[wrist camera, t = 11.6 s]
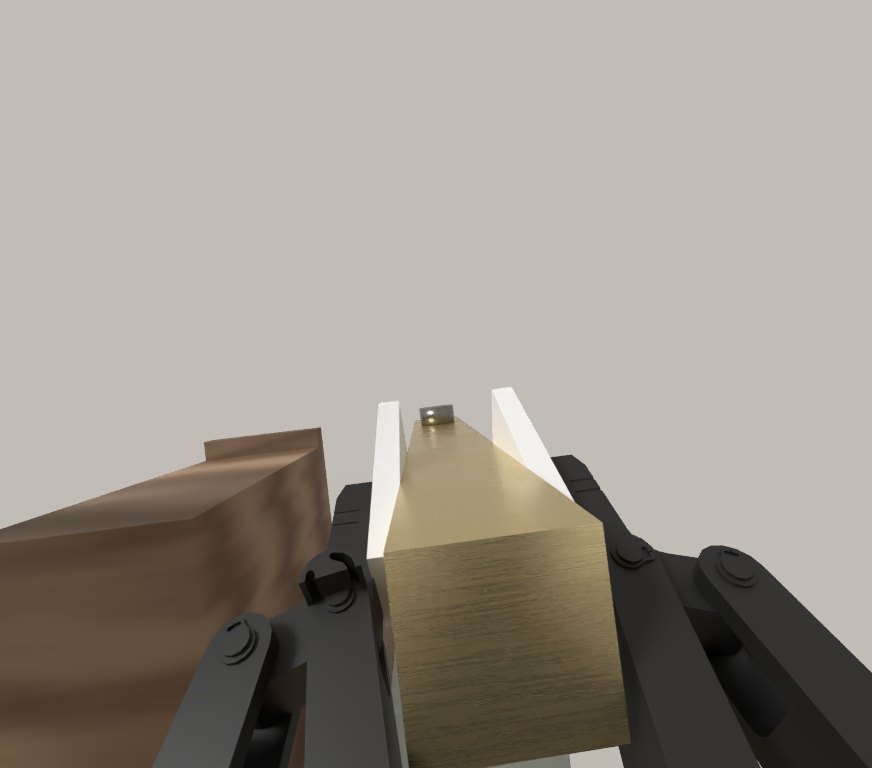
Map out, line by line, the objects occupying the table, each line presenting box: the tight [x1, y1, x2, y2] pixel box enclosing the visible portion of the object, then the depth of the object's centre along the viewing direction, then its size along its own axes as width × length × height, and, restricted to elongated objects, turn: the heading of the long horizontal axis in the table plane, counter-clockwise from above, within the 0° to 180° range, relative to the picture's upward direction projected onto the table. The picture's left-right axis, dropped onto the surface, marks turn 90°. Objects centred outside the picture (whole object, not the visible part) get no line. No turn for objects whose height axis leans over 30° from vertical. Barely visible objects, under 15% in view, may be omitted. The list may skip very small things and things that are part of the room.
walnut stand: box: [0, 428, 332, 768], centre depth 22 cm, size 20×12×32 cm, turn 2°
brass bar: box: [383, 405, 631, 768], centre depth 19 cm, size 26×4×5 cm, turn 2°
